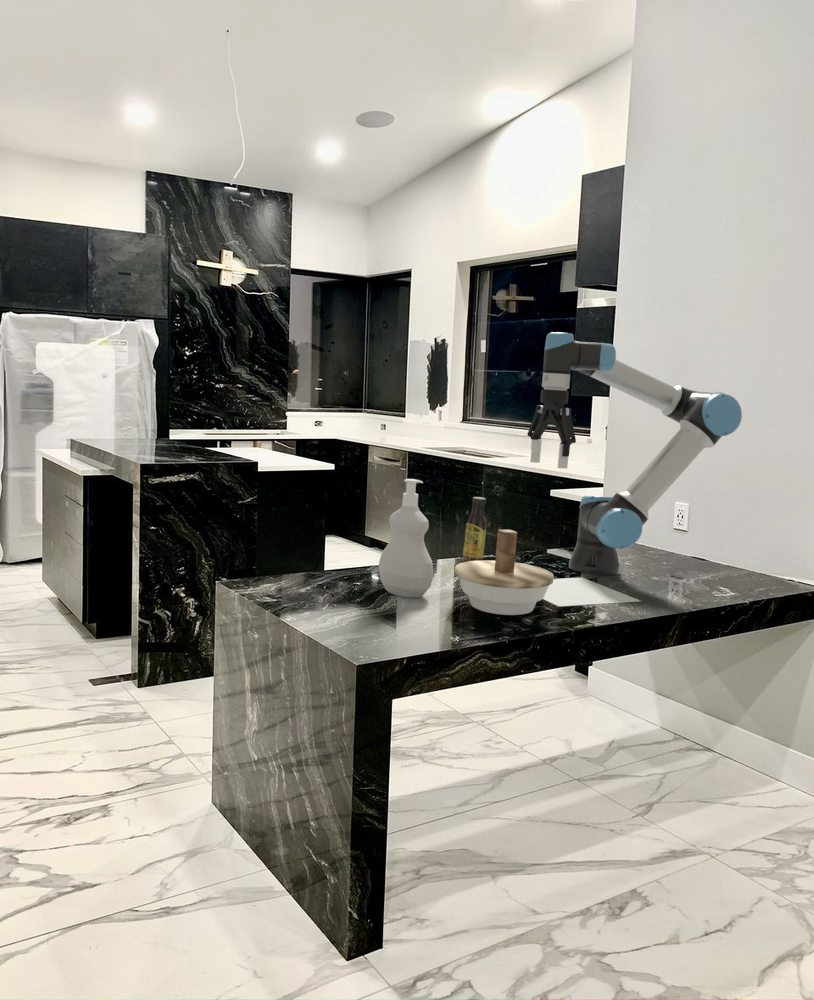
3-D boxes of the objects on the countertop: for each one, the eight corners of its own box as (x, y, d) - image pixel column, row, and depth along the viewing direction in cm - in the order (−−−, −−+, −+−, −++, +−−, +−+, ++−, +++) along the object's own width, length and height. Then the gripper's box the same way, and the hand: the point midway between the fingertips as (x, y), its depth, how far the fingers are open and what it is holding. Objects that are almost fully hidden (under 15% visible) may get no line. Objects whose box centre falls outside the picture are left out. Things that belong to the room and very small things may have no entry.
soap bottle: (443, 598, 218) (451, 483, 213) (408, 604, 210) (417, 485, 206) (399, 583, 230) (406, 474, 226) (365, 588, 222) (372, 476, 218)
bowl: (485, 592, 227) (487, 561, 226) (563, 610, 214) (566, 577, 213) (438, 607, 209) (440, 574, 208) (520, 628, 196) (523, 592, 195)
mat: (581, 579, 250) (581, 577, 249) (641, 603, 226) (641, 600, 226) (504, 583, 239) (504, 581, 238) (558, 608, 215) (559, 606, 215)
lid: (519, 563, 226) (523, 521, 225) (573, 586, 205) (577, 539, 203) (438, 566, 216) (441, 522, 215) (485, 590, 195) (489, 542, 193)
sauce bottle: (458, 560, 265) (463, 496, 262) (471, 558, 269) (475, 495, 266) (475, 564, 260) (480, 499, 257) (487, 562, 265) (492, 498, 262)
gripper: (519, 386, 249) (513, 459, 252) (570, 390, 226) (563, 470, 229) (541, 388, 252) (535, 460, 255) (593, 391, 229) (586, 471, 232)
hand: (548, 465), depth 242 cm, fingers open, 13 cm apart
